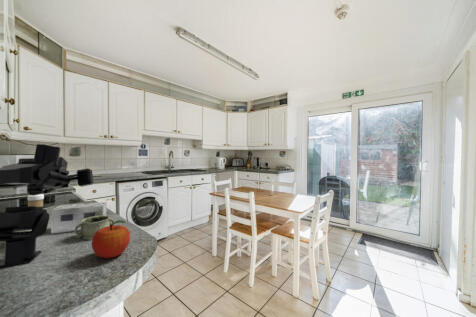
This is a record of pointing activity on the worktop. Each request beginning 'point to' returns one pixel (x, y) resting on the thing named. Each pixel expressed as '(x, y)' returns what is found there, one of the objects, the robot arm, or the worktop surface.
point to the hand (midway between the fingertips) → (73, 184)
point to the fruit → (111, 240)
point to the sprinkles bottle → (36, 200)
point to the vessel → (92, 226)
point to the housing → (74, 215)
